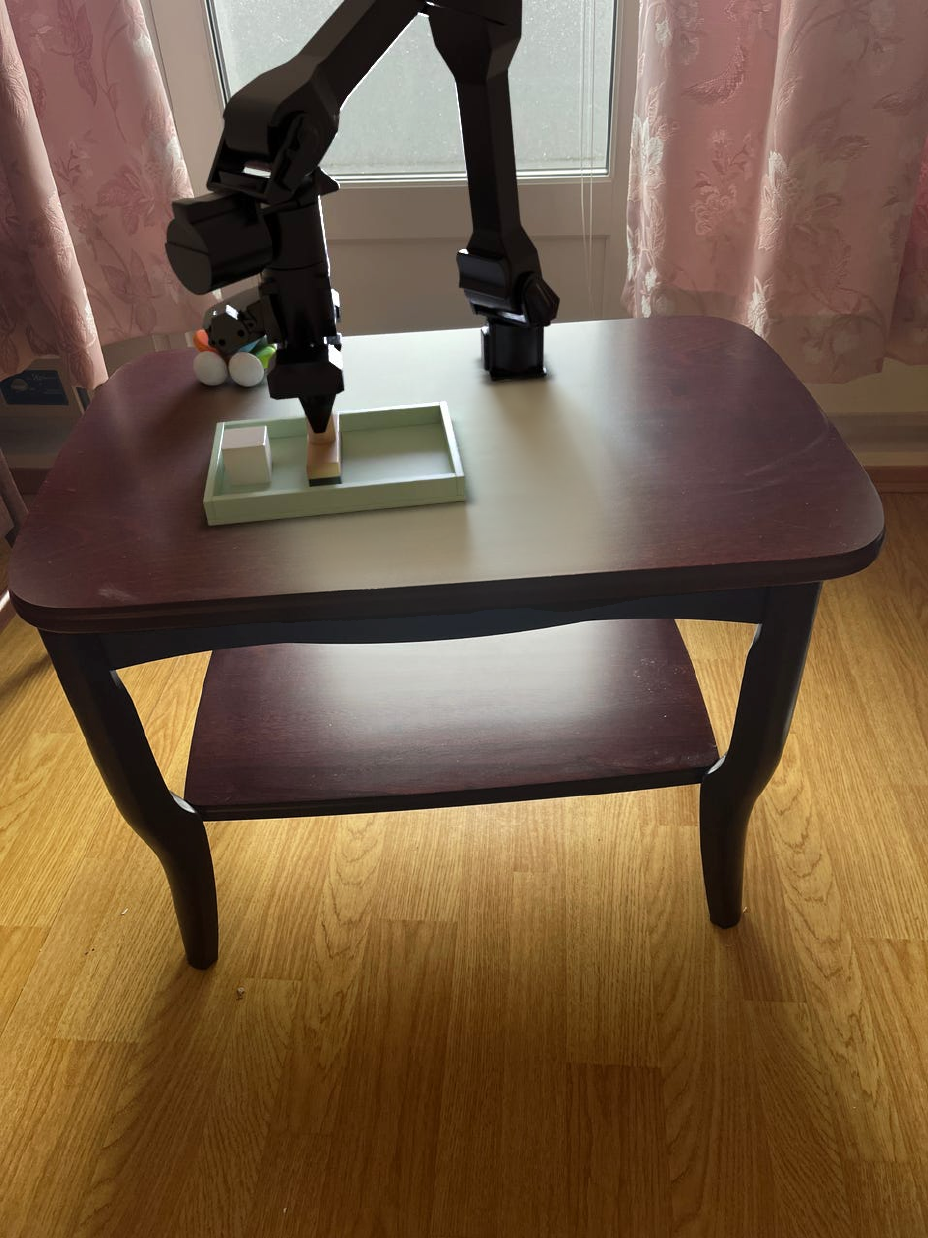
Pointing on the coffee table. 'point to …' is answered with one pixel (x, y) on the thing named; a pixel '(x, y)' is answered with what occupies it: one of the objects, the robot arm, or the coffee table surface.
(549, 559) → the coffee table surface
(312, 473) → the brush
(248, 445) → the chalk block
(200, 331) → the rainbow petal wheeled toy
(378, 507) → the tray
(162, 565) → the coffee table surface
